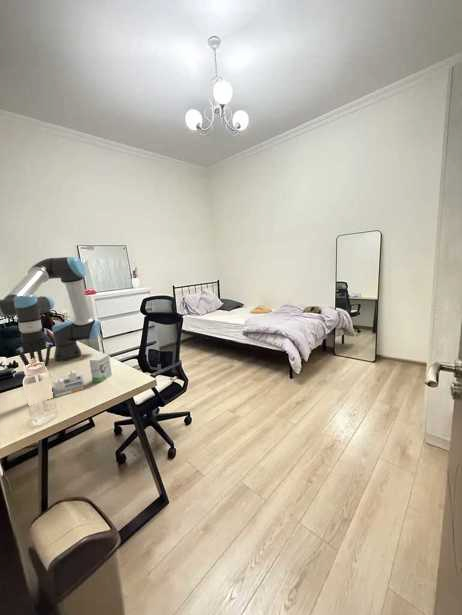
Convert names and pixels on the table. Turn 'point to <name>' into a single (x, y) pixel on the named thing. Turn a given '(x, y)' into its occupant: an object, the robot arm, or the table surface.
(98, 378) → the ink box
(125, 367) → the table surface
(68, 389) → the switch bank
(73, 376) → the tab
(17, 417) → the table surface
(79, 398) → the table surface
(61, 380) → the tab
